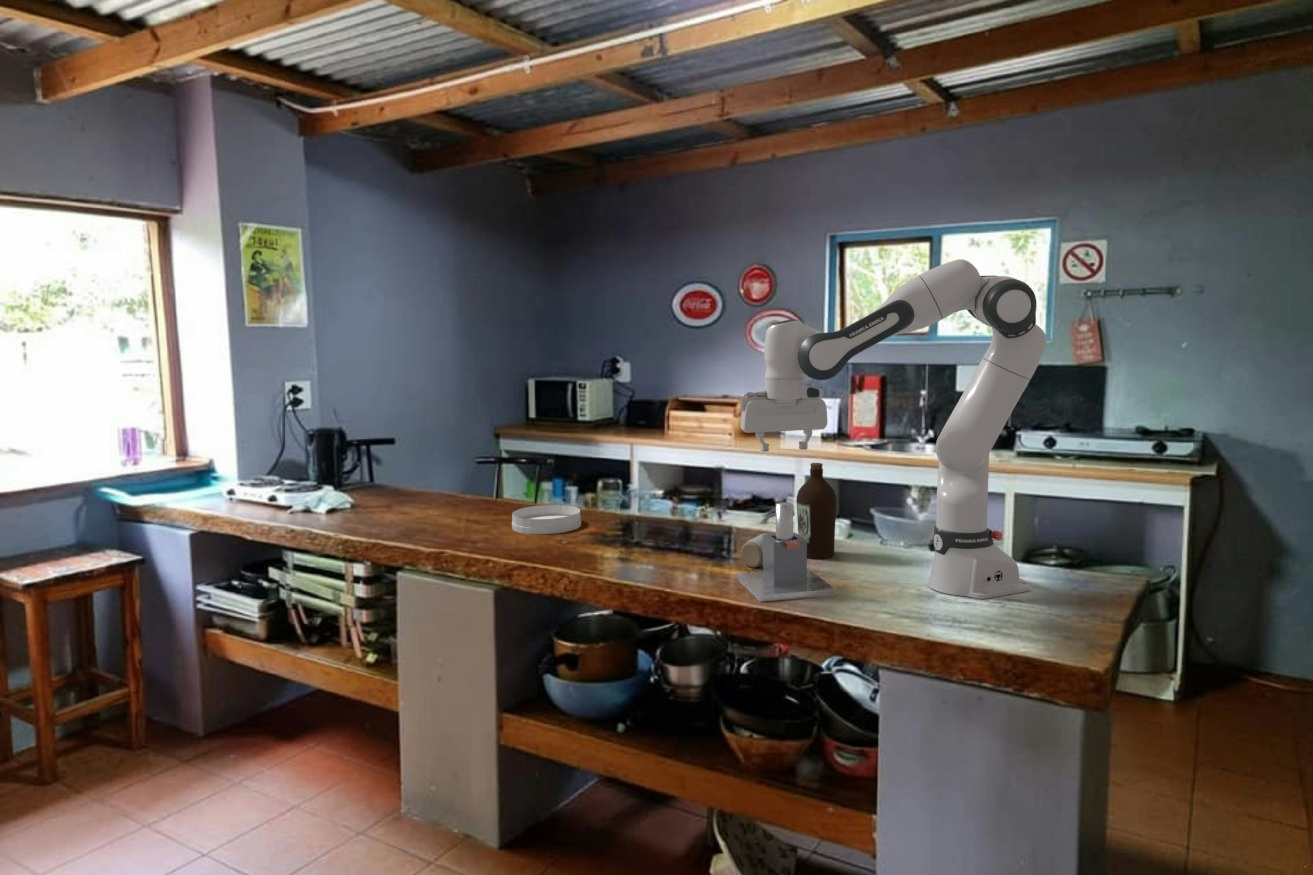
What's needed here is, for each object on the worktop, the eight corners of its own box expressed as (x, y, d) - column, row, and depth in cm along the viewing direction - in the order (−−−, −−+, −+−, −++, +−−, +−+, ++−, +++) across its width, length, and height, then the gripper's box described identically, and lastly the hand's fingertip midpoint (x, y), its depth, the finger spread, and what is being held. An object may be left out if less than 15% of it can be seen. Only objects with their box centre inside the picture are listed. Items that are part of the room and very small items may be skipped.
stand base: (806, 573, 206) (806, 526, 205) (835, 595, 189) (835, 543, 187) (737, 579, 203) (736, 531, 201) (760, 601, 185) (759, 549, 184)
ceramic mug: (738, 566, 214) (738, 537, 213) (756, 559, 220) (756, 531, 219) (773, 573, 207) (773, 544, 206) (790, 566, 213) (790, 537, 212)
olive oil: (824, 548, 230) (824, 459, 227) (843, 557, 220) (844, 465, 217) (789, 551, 227) (789, 462, 224) (807, 561, 217) (807, 467, 214)
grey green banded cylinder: (790, 575, 198) (789, 501, 196) (796, 580, 194) (796, 505, 192) (772, 576, 197) (772, 502, 195) (778, 581, 193) (778, 506, 191)
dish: (504, 524, 270) (503, 509, 270) (568, 516, 280) (567, 502, 279) (522, 538, 250) (522, 522, 250) (591, 529, 260) (590, 514, 259)
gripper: (744, 393, 185) (745, 454, 187) (830, 390, 189) (830, 449, 191) (736, 391, 191) (737, 450, 193) (819, 388, 195) (819, 446, 197)
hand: (784, 450), depth 192 cm, fingers open, 8 cm apart
